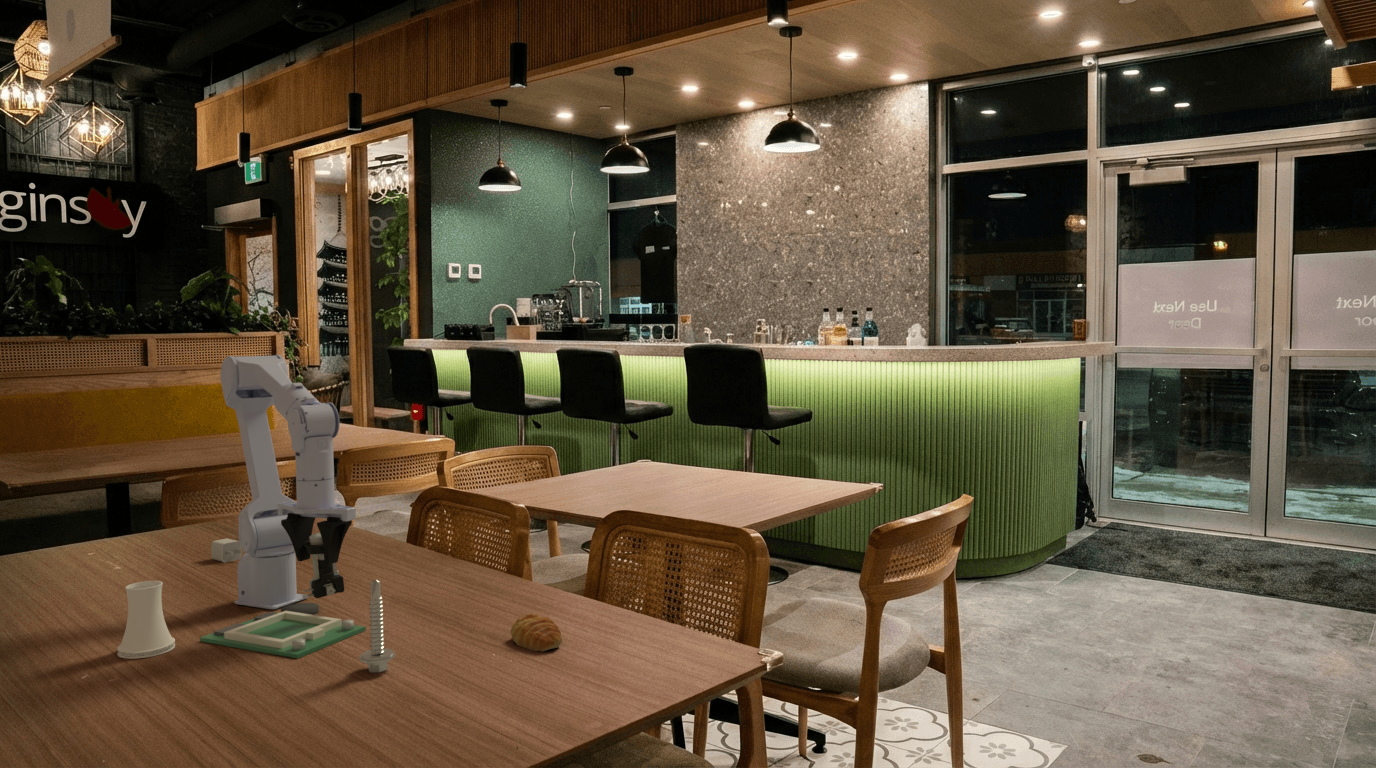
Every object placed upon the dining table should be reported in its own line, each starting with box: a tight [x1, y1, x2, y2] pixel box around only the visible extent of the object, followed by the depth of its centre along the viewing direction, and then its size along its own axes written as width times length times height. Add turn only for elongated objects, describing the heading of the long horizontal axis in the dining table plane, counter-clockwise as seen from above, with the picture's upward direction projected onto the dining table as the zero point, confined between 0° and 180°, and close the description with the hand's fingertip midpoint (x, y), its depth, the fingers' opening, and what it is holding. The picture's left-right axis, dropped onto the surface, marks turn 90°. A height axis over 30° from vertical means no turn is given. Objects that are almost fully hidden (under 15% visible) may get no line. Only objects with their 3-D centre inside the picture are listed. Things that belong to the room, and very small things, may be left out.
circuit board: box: [199, 611, 367, 659], centre depth 147 cm, size 20×14×2 cm
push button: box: [301, 532, 345, 599], centre depth 153 cm, size 7×5×10 cm
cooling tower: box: [116, 580, 176, 660], centre depth 141 cm, size 8×8×10 cm
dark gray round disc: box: [280, 602, 320, 615], centre depth 159 cm, size 6×6×1 cm
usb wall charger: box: [210, 538, 244, 563], centre depth 196 cm, size 4×7×4 cm, turn 54°
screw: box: [358, 578, 396, 674], centre depth 132 cm, size 13×5×5 cm
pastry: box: [510, 613, 563, 653], centre depth 143 cm, size 9×7×4 cm
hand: (317, 561), depth 152 cm, fingers closed on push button, 5 cm apart
